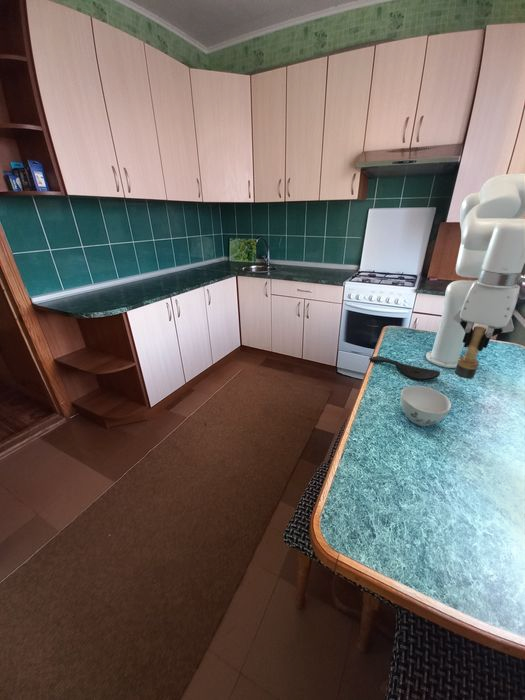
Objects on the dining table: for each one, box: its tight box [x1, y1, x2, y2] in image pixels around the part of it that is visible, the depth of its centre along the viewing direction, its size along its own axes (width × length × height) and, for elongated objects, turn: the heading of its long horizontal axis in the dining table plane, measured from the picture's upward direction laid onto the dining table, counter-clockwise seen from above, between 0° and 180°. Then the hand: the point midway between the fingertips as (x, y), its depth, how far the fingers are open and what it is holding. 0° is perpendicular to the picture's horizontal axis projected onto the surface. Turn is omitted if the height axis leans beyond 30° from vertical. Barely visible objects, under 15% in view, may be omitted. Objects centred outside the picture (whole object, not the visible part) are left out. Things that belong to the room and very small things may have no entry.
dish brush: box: [454, 325, 487, 380], centre depth 78 cm, size 5×5×14 cm
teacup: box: [400, 385, 452, 427], centre depth 84 cm, size 15×12×8 cm
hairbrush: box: [368, 356, 441, 381], centre depth 109 cm, size 8×4×25 cm
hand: (473, 346), depth 77 cm, fingers closed on dish brush, 2 cm apart
